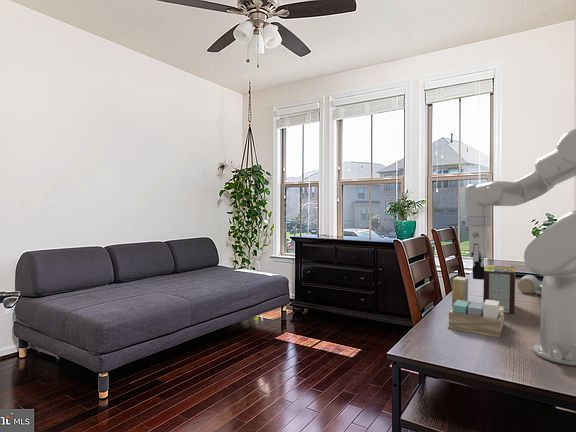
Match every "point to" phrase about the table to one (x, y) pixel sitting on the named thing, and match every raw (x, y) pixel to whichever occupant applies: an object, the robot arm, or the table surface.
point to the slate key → (475, 309)
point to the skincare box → (459, 289)
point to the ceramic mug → (529, 284)
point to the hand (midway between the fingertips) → (478, 278)
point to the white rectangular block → (491, 309)
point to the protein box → (500, 286)
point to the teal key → (461, 307)
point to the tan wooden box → (477, 323)
